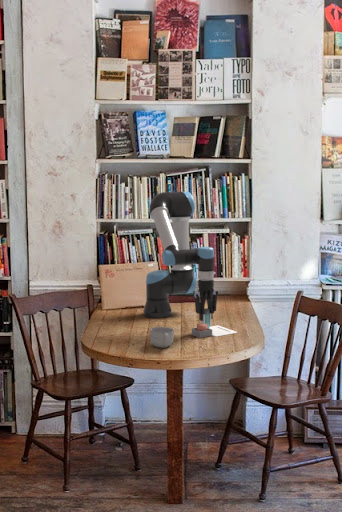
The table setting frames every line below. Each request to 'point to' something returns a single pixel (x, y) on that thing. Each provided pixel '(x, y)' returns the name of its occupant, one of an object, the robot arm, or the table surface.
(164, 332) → the teacup
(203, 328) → the button
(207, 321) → the marker
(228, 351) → the table surface
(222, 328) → the paper
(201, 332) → the button housing
